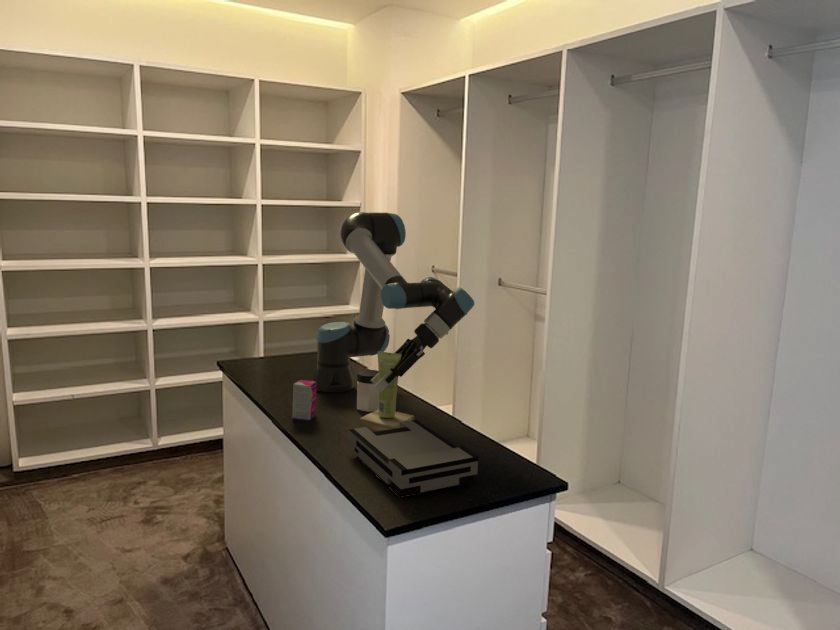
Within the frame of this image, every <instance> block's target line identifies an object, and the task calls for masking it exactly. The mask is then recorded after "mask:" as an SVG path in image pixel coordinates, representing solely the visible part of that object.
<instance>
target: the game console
mask: <svg viewBox="0 0 840 630" xmlns="http://www.w3.org/2000/svg"><path fill="white" fill-rule="evenodd" d="M347 432H348V433H347V441H348V443H349V444H351V446H353V447H354V452H355V453H357V460H358V459H359V460H360V461H361V462H360V461H359V460H358V461H359V462H360V463H362V462H363V463H364V464H365V465H366V466H367V467H368V468H369V469H370V470H371V471H372V472H373V473H374V474H375V475H377V476H378V477H379V478H380V479H381V480H382V481H383V482H384V483H385V484H386V485H387V486H388V487H390V488H391V489H392V490H393V491H394V492H395V493H396V494H397V495H398V496H399V497H401V496H406V495H412V494H417V495H419V494H418V493H422V494H423V493H424V492H429V491H435V490H439V489H444V488H445V489H446V488H447V487H448V488H447V489H451V488H450V487H452V488H455V487H461V486H466V485H469V484H470V483H471V482H474V480H475V479H474V476H476V475H478V472H479V471H478V469H479V468H478V467H479V456H478V455H477V454H475V453H474V452H472V451H471V450H469V449H468V448H466V447H465V446H456V445H455V444H454V443H452V442H450V441H449V440H447V439H446V438H444V437H443V436H441V435H440V434H438V433H437V432H435V431H434V430H433V429H431V428H429V427H428V426H426V425H425V424H424V423H422V422H420V420H417V419H414V420H411V421H404V422H400V428H396V429H389V430H382V431H375V432H372V431H370V430H369V429H368V428H367V427H362V428H359V427H358V428H350V429H348V430H347ZM363 463H362V464H363ZM364 464H363V465H364ZM365 465H364V466H365ZM366 466H365V467H366ZM367 467H366V468H367ZM368 468H367V469H368ZM369 469H368V470H369ZM370 470H369V471H370ZM371 471H370V472H371ZM372 472H371V473H372ZM373 473H372V474H373ZM374 474H373V475H374ZM375 475H374V476H375ZM379 478H378V479H379ZM380 479H379V480H380ZM381 480H380V481H381ZM382 481H381V482H382ZM383 482H382V483H383ZM384 483H383V484H384ZM385 484H384V485H385ZM386 485H385V486H386ZM387 486H386V487H387ZM388 487H387V488H388ZM396 494H395V495H396ZM397 495H396V496H397ZM398 496H397V497H398ZM399 497H398V498H399Z"/></svg>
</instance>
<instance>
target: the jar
mask: <svg viewBox="0 0 840 630" xmlns="http://www.w3.org/2000/svg"><path fill="white" fill-rule="evenodd" d="M378 372H379V370H376V369H362V370H359V371H357V379H356V381H357V382H356V410H359V411H362V412H367V413H372V412H374V411H376V410H378V409H379V390H378V389H377V388H376V387H375V384H374V383H373V382H372V381H371V379H372V378H373V377H374V376H375V375H376V374H377V373H378Z"/></svg>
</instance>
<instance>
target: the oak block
mask: <svg viewBox="0 0 840 630" xmlns="http://www.w3.org/2000/svg"><path fill="white" fill-rule="evenodd" d="M358 420H359V421H358V428H362V427H367V428H368V429H369V430H370V431H372V432H375V431H382V430H389V429H396V428H400V422H404V421H411V420H415V415H413V414H409V413H406V412H405V413H404V412H400V411H396V410H395V416H394V417H391V418H384V417H381V416H379V409H378V410H376V411H371V412H369V413H367V414H365V415H364V416H361V417H360V418H358Z"/></svg>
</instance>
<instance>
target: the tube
mask: <svg viewBox="0 0 840 630" xmlns="http://www.w3.org/2000/svg"><path fill="white" fill-rule="evenodd" d="M376 356H377V363H378V371H379V381H380V380H381V379H382V378H383V377H384V376H385V375H386V374H387V373H388V372H389V371H390V368H394V367H395V366H396V365H397V364H398V362H399V361H400V360H401V356H402V354H397V353H395V352H386V351H384V352H380V351H377V354H376ZM398 382H399V376H398V377H396V378H395V379H394V380H393V381H392V382H391V383H390V384H389V385H388V386H387V387H386V388H385V389H384V390H383V391H382V392H380V391H379V416H381V417H384V418H391V417H394V416H395V411H396V407H397V405H396V404H397V394H398V384H399V383H398Z"/></svg>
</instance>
